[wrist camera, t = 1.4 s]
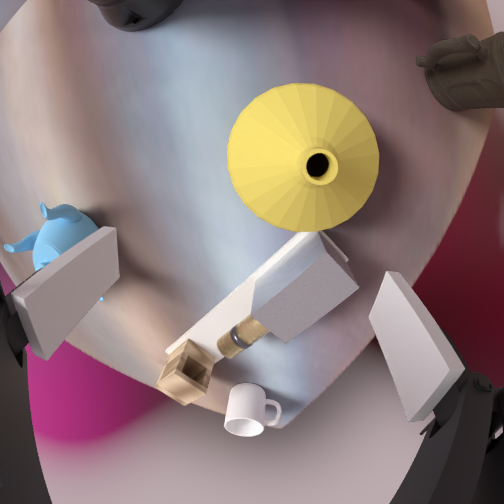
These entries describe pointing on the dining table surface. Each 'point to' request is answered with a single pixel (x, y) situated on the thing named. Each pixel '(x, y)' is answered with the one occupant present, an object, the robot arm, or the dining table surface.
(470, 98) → the beer stein
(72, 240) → the teapot
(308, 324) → the sleeve
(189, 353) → the socket block
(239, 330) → the slip tube
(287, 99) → the vase
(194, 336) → the base rail
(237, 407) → the cup
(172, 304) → the dining table surface
